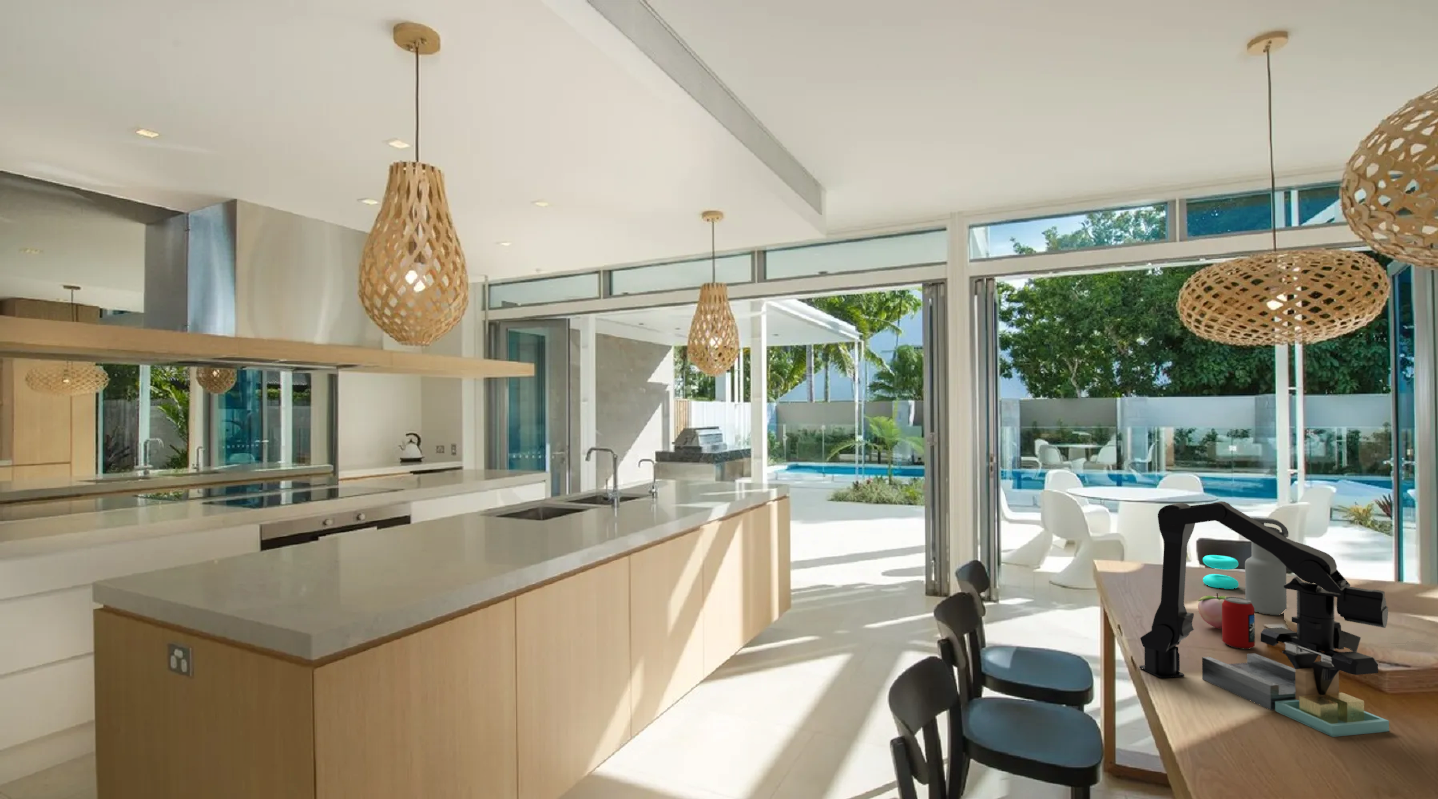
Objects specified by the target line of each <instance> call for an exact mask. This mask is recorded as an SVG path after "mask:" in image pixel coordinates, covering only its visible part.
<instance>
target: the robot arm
mask: <svg viewBox="0 0 1438 799" xmlns="http://www.w3.org/2000/svg"><path fill="white" fill-rule="evenodd" d="M1214 521H1216V522H1217V523H1219V524H1222V525H1223V526H1225V527H1227V528H1229V530H1231V531H1233V532H1235V533H1237V534H1238V535H1240V536H1242V537H1243V538H1245V539H1247V540H1248V541H1249V542H1253V543H1255V544H1256V545H1258V546H1260V547H1262V548H1263V549H1265V550H1267V551H1268V552H1270V553H1272V554H1273V555H1274V556H1275V557H1277V558H1278V559H1279V560H1280V561H1281V562H1282V563H1283V564H1284V565H1285V566H1286V569H1288V570H1290V572H1291V573H1293V574H1294V575H1295V577H1293V578H1292V579H1291V580H1290V581H1288V582H1286V584H1285V585H1284V588H1285V589H1286V590H1292V591H1296V616H1291V623H1294V624H1296V631H1294V630H1290V629H1287V628H1284V627H1280V626H1279V627H1270V628H1269V627H1268V628H1263V630H1262V631H1261V632H1260V642H1261V643H1263V644H1267V645H1270V646H1272V647H1274V646H1277V645H1278V644H1279V642H1280V643H1283V644H1284V649H1283V650H1282V651H1281V652H1282V654H1284V655H1285V656H1286V657H1287V658H1288V660H1289V662H1290V663H1291V665H1292V666H1293V668H1295V669H1304V668H1313V671H1314V676H1315V681H1316V687H1317V690H1318V693H1319V695H1325V694H1326V692H1327V690H1328V688H1329V686H1330V684H1331V682H1332V680H1333V678H1334V677H1335V675H1336V674H1337V673H1338V671H1339V672H1341V671H1342V672H1344V673H1347V674H1350V675H1353V676H1358V675H1359V676H1360V675H1370V674H1372V675H1374V674H1379V663H1378V661H1377V660H1376V659H1375V658H1374V657H1372V656H1369V655H1367V654H1363V653H1360V652H1358V648H1359V645H1360V642H1361V638H1362V636H1359V635H1356V634H1354V633H1353V634H1352V633H1351V632H1349V631H1345V630H1342V625H1341V623H1340V622H1338V621H1335V598H1336V613H1337V614H1338V615H1339V616H1340V617H1341V618H1344V621H1346V622H1352V623H1356V624H1361V625H1367V626H1372V627H1377V628H1381V629H1382V628H1383V629H1385V628H1386V627H1387V624H1388V616H1389V607H1388V606H1387V600H1386V597H1385V591H1383V590H1379V589H1367V588H1361V587H1353V586H1351V584H1350V583H1349V582H1348V580H1347V579H1346V578H1345V577H1344V575H1343V574H1342V573H1340V571H1339V570H1338V566H1337V563H1336V560H1335V559H1334V557H1333V556H1331V555H1330V554H1329V553H1327V552H1324V551H1323V550H1320V549H1317V548H1315V547H1312V546H1310V545H1307V544H1304V543H1301V542H1297V541H1295V540H1292V539H1289V538H1288V537H1284V536H1282V535H1280V534H1279V533H1277V532H1275V531H1273V530H1272V529H1270V528H1268V527H1269V526H1268V527H1266V526H1267V525H1265V524H1264V525H1263V524H1261V523H1259V522H1258V521H1256V520H1254V519H1252V518H1251V516H1248V515H1247V514H1246V513H1243V512H1242V511H1240V510H1238V509H1237V508H1235V507H1233V506H1232V505H1231V504H1230V503H1229V502H1226V501H1221V500H1220V501H1216V502H1212V503H1203V504H1202V503H1201V504H1194V505H1189V504H1187V503H1184V502H1175V503H1171V504H1168V505H1164V506H1163V507H1161V508H1160V509H1159V510H1158V512H1157V522H1158V529H1159V532H1160V535H1161V537H1162V540H1163V556H1162V557H1163V559H1162V572H1161V573H1162V574H1161V575H1162V577H1161V592H1160V595H1161V596H1160V603H1159V604H1158V607H1157V610H1156V611H1155V614H1154V617H1153V621H1152V624H1151V630H1150V631H1148V632H1147V633H1145V634H1144V635H1142V636H1141V637H1140V638H1139V639H1140V642H1141V644H1142V647H1143V649H1144V664H1143V665H1139V666H1138V667H1139V668H1140V669H1141V668H1143V669H1144V670H1143V669H1142V670H1143V671H1145V672H1147V673H1149V674H1151V675H1153V676H1155V677H1157V678H1160V679H1166V678H1179V677H1185V673H1183V672H1181V670H1180V668H1181V667H1180V665H1181V664H1180V658H1181V657H1180V655H1181V654H1180V652H1179V647H1178V645H1180V643H1181V641H1183V640H1184V639H1186V638H1188V636H1189V635H1190V633H1191V632H1193V631H1194V630H1195V629H1194V626H1193V621H1194V620H1193V619H1194V617H1195V616H1194V615H1195V614H1194V612H1188V611H1187V609H1186V605H1185V589H1186V573H1187V572H1186V569H1187V555H1188V552H1187V551H1188V544H1189V543H1188V542H1189V540H1190V539H1191V536H1192V534H1193V532H1194V530H1195V525H1196V524H1198V523H1207V522H1214ZM1345 648H1346V649H1348V650H1349V651H1342V652H1341V651H1337V650H1344V649H1345ZM1319 656H1320V660H1319V661H1316V660H1317V659H1318V657H1319Z"/></svg>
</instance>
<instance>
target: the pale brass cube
mask: <svg viewBox="0 0 1438 799" xmlns="http://www.w3.org/2000/svg"><path fill="white" fill-rule="evenodd" d="M1299 710H1300V711H1303V712H1305V713H1307V714H1310V715H1312V716H1314V717H1317V718H1319V719H1321V720H1323V721H1326V722H1328V723H1330V724H1336V723H1338V703H1335V702H1333V701H1330V700H1328V699H1325V698H1323V697H1321V696H1318V695H1307V696H1299Z"/></svg>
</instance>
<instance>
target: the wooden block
mask: <svg viewBox="0 0 1438 799" xmlns="http://www.w3.org/2000/svg"><path fill="white" fill-rule="evenodd" d="M1339 672H1340V671H1338V673H1337V674H1336V675H1335V677H1334V678H1333V680H1332V682H1331V684H1330V686H1329V688H1328V690H1327V692H1326V694H1330V693H1340V676H1339V675H1340V673H1339ZM1295 691H1296V699H1297V700H1299V696H1307V695H1318V696H1321V697H1323V698H1325V695H1319V693H1318V690H1317V687H1316V681H1315V676H1314V671H1313V668H1304V669H1295Z"/></svg>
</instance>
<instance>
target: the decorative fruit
mask: <svg viewBox="0 0 1438 799" xmlns="http://www.w3.org/2000/svg"><path fill="white" fill-rule="evenodd" d="M1225 597H1228V596H1226V595H1221V596H1220V595H1219V593H1218V592H1216V596H1215V595H1204V596H1201V598H1199V599H1198V604H1197V609H1198V612H1199V613H1198V614H1199V616H1200V617H1201V619H1202V620H1203V621H1204V622H1205V623H1206V624H1208V625H1210V626H1211V627H1214V628H1215V629H1218V630H1219V629H1222V603H1223V601H1224V600H1225Z"/></svg>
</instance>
